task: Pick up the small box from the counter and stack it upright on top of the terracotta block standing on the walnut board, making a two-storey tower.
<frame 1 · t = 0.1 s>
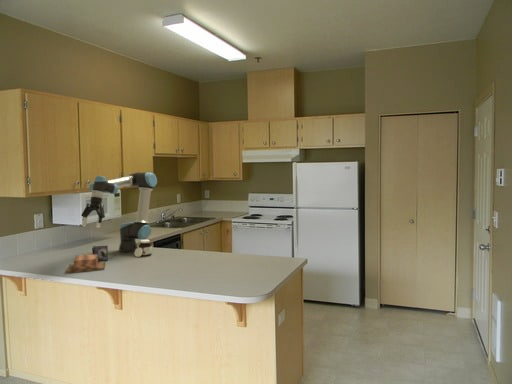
hand: (90, 227, 292), 28 cm above the countertop, tool tilted 20°, fingers open, 13 cm apart
small box: (100, 260, 310), on the countertop
tower base: (86, 268, 289), on the countertop
spread jar: (143, 256, 323), on the countertop
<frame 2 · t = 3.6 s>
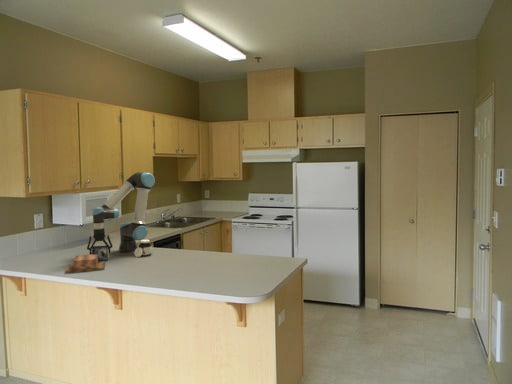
hand: (100, 257, 310), 2 cm above the countertop, tool pointing down, fingers closed on small box, 10 cm apart
small box: (100, 260, 310), on the countertop, touching gripper
everything else where it was.
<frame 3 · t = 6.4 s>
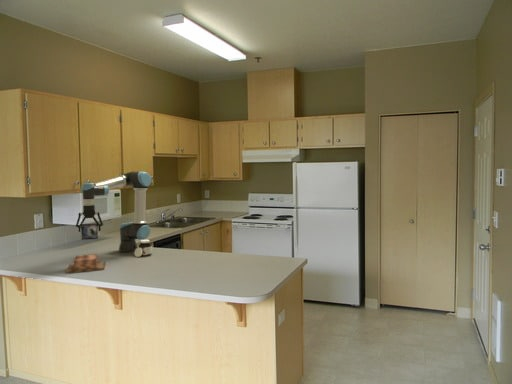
hand: (89, 236, 295), 21 cm above the countertop, tool pointing down, fingers closed on small box, 10 cm apart
small box: (90, 239, 295), point 19 cm above the countertop, touching gripper
everything else where it was.
when the fingers open (11 cm above the countertop, at t = 9.2 s): small box drops 1 cm, resting on tower base.
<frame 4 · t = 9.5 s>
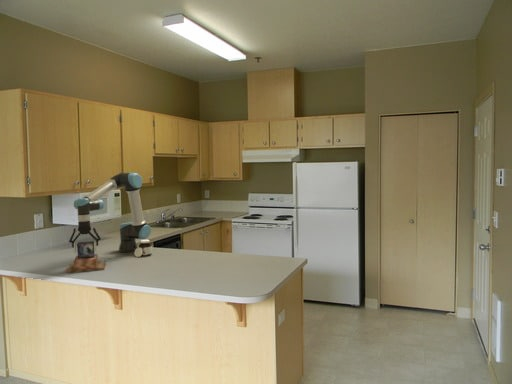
hand: (85, 251, 288), 12 cm above the countertop, tool pointing down, fingers open, 13 cm apart
small box: (86, 257, 289), point 7 cm above the countertop, touching tower base
everything else where it was.
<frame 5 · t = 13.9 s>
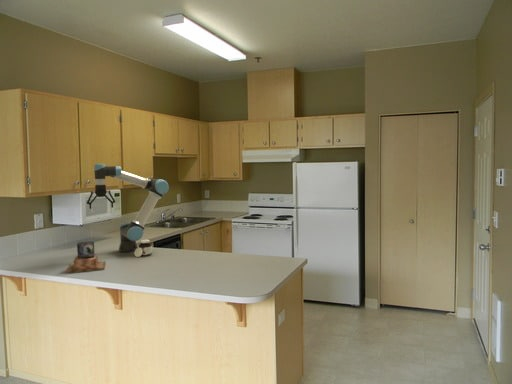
hand: (101, 212, 316), 35 cm above the countertop, tool pointing down, fingers open, 13 cm apart
nothing on the countertop moved.
at the end: small box inside the target area on the tower base (0.2 cm from its centre), point 7.3 cm above the tower base's base; small box tilted 0°; the gripper is holding nothing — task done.
